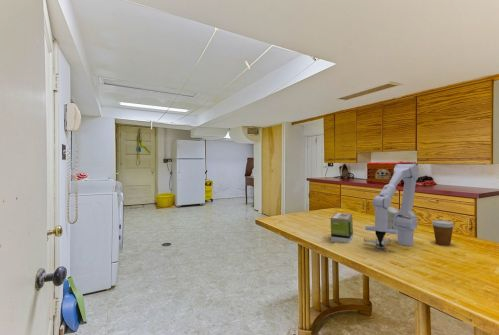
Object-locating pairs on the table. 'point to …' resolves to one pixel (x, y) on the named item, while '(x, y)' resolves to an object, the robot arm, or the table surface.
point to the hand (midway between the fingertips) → (380, 246)
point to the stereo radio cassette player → (392, 217)
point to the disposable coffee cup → (443, 231)
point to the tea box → (341, 227)
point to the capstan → (378, 243)
